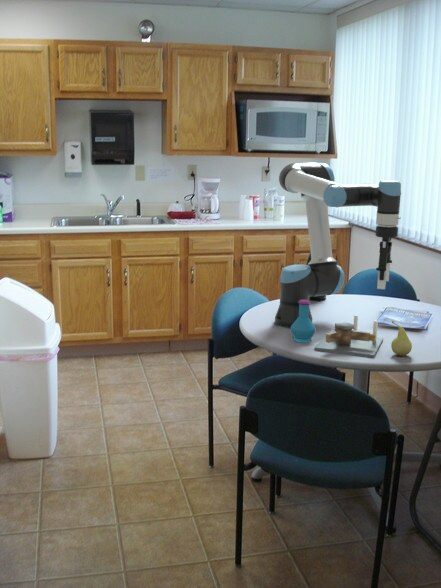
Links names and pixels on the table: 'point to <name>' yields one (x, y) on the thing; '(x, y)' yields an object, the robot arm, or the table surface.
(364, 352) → the stand
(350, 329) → the capstan
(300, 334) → the perfume bottle
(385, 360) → the table surface
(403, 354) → the fruit
